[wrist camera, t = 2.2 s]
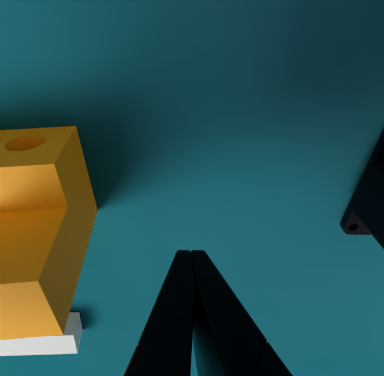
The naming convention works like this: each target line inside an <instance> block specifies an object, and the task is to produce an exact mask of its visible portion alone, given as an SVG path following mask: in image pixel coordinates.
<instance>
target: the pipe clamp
mask: <svg viewBox="0 0 384 376" xmlns="http://www.w3.org/2000/svg"><path fill="white" fill-rule="evenodd" d="M97 211H98V210H97V206H96V202H95V198H94V194H93V190H92V186H91V182H90V179H89V175H88V171H87V167H86V163H85V159H84V155H83V151H82V147H81V143H80V140H79V136H78V132H77V128H76V126H66V127H48V128H30V129H12V130H0V340H8V339H20V338H31V337H42V336H53V335H63V334H64V330H65V327H66V323H67V319H68V316H69V312H70V309H71V305H72V301H73V298H74V294H75V290H76V287H77V283H78V279H79V276H80V272H81V269H82V265H83V261H84V258H85V254H86V250H87V247H88V243H89V240H90V236H91V232H92V229H93V225H94V221H95V218H96V214H97Z"/></svg>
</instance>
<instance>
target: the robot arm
mask: <svg viewBox="0 0 384 376" xmlns="http://www.w3.org/2000/svg"><path fill="white" fill-rule="evenodd" d="M340 226H341V228H342V229H343V231H344V232H345V233H346V234H353V235H373V237H374V238H375V239H376V240H377V242H378V243H379V244H380V245H381V246H382V248H383V249H384V130H383V132H382V134H381V136H380V139H379V141H378V143H377V145H376V147H375V149H374V151H373V154H372V156H371V158H370V160H369V162H368V164H367V167H366V169H365V171H364V173H363V175H362V177H361V179H360V182H359V184H358V186H357V188H356V190H355V192H354V195H353V197H352V199H351V201H350V203H349V205H348V208H347V210H346V212H345V214H344V216H343V218H342V220H341V223H340ZM192 339H193V345H194V352H195V358H196V365H197V371H198V376H293V375H292V374H291V373H290V371H289V370H288V369H287V367H286V366H285V365H284V363H283V362H282V361H281V359H280V358H279V357H278V355H277V354H276V352H275V351H274V349H273V348H272V347H271V345H270V344H269V343H268V342H267V340H266V338H265V337H264V335H263V334H262V332H261V331H260V330H259V328H258V327H257V325H256V324H255V322H254V321H253V319H252V318H251V317H250V315H249V314H248V312H247V311H246V309H245V308H244V307H243V305H242V304H241V302H240V301H239V299H238V298H237V297H236V295H235V294H234V292H233V291H232V289H231V288H230V286H229V285H228V284H227V282H226V281H225V279H224V278H223V276H222V275H221V274H220V272H219V271H218V269H217V268H216V266H215V265H214V264H213V262H212V261H211V259H210V258H209V256H208V255H207V253H206V252H205V251H203V250H192V251H191V252H190V250H178V251H177V252H176V254H175V257H174V259H173V261H172V264H171V266H170V269H169V271H168V273H167V276H166V278H165V280H164V283H163V285H162V287H161V290H160V292H159V295H158V297H157V299H156V302H155V304H154V306H153V309H152V311H151V314H150V316H149V318H148V321H147V323H146V325H145V328H144V330H143V332H142V335H141V337H140V340H139V342H138V346H136V349H135V351H134V353H133V356H132V358H131V360H130V362H129V365H128V367H127V369H126V371H125V373H124V375H123V376H190V371H191V353H192ZM266 342H267V343H266Z"/></svg>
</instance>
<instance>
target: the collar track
mask: <svg viewBox="0 0 384 376" xmlns="http://www.w3.org/2000/svg"><path fill="white" fill-rule="evenodd" d="M82 331H83V329H82V324H81V319H80V314H79V312H69V316H68V319H67V323H66V327H65V330H64V334H63V335H53V336H42V337H31V338H20V339H8V340H0V356H13V355H44V354H75V353H78V349H79V345H80V340H81V336H82Z"/></svg>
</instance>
